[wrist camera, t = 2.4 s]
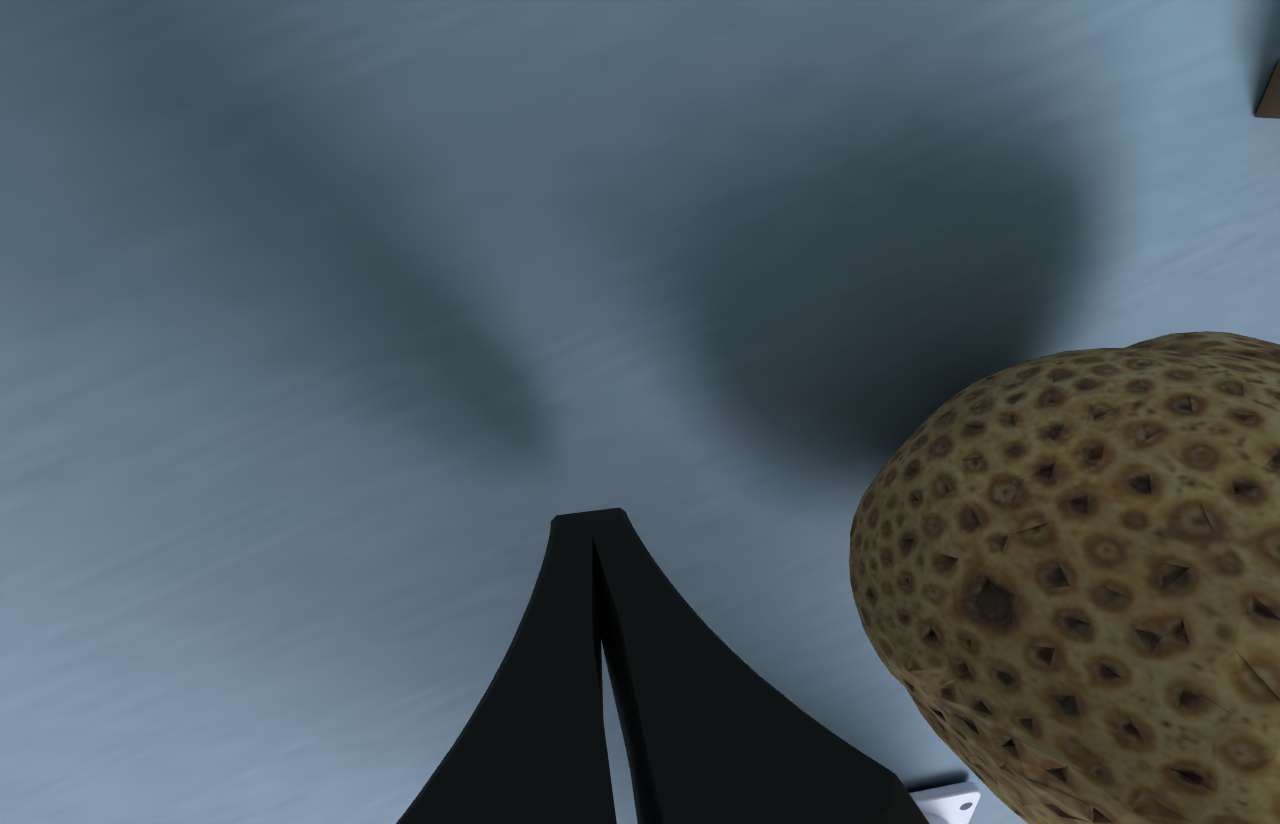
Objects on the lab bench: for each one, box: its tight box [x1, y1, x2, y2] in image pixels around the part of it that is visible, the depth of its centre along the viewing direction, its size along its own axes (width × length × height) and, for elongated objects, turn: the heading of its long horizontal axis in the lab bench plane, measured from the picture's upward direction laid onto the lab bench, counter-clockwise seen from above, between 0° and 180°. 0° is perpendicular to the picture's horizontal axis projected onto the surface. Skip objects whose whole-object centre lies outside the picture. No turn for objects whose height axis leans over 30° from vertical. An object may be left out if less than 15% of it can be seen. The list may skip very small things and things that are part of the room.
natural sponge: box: [849, 331, 1280, 824], centre depth 11 cm, size 9×9×10 cm
